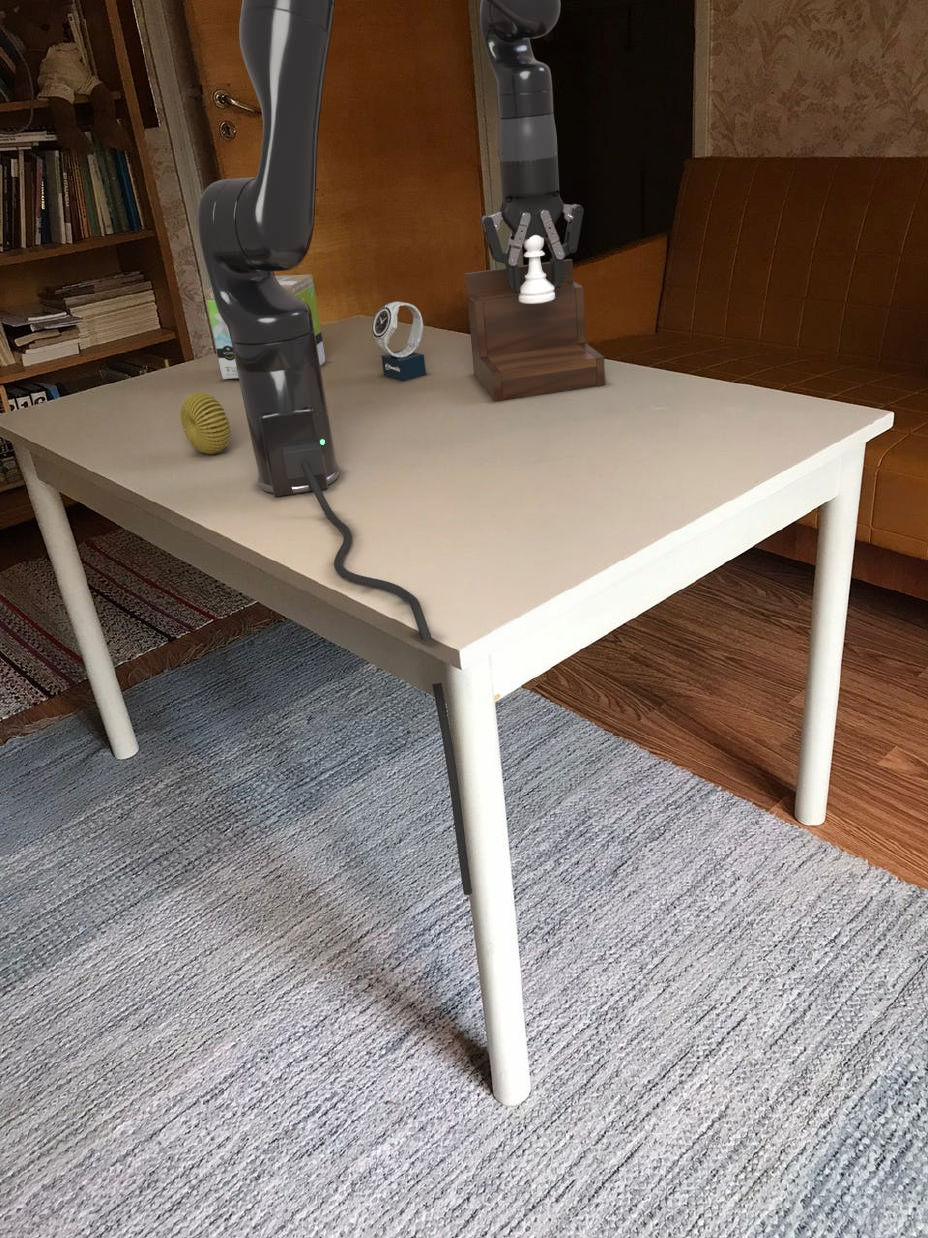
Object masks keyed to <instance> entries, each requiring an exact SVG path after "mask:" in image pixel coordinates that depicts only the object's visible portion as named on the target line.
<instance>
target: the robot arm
mask: <svg viewBox="0 0 928 1238" xmlns="http://www.w3.org/2000/svg"><path fill="white" fill-rule="evenodd" d="M241 1H242V2H241V7H240V18H239V26H238V42H239V47H240V52H241V56H242V59H243V63H244V66H245V69H246V72H247V74H248V77H249V80H250V83H251V86H252V88H253V91H254V93H255V95H256V98H257V99H256V100H257V101H258V105H259V108H260V112H261V118H262V119H261V120H262V137H261V139H262V140H261V152H260V158H259V164H258V168H257V173H256V176H253V177H237V178H224V179H219V180H216V181H214V182H212V183H210V184H209V185H208V186H207V187H206V188H205V189H204V191H203V193H202V194H201V196H200V199H199V202H198V203H199V204H198V207H197V215H196V216H197V223H196V224H197V233H198V239H199V244H200V249H201V253H202V257H203V262H204V265H205V268H206V272H207V276H208V279H209V280H208V281H209V284H210V288H212V291H213V295H214V299H215V303H216V306H217V309H218V311H219V314H220V315H221V317H222V319H223V320H224V322H225V323H226V325H227V327H228V329H229V333H230V338H231V342H232V347H233V352H234V357H235V362H236V367H237V372H238V377H239V378H238V381H239V387H240V392H241V396H242V401H243V405H244V410H245V416H246V420H247V425H248V429H249V435H250V440H251V444H252V449H253V454H254V458H255V459H254V460H255V463H256V469H257V472H258V483H259V486H260V488H261V490H263V491H264V492H267V493H271V494H273V496H274V497H283V496H290V495H295V494H296V495H297V494H303V493H309V492H313V494H314V496H315V498H316V500H317V502H318V504H319V506H320V507H321V510H322V511H323V513H324V515H325V516H326V518H327V520H329V522H330V523H331V524H332V525H333V526H334V527H335V528H336V529H338V530H339V531H340V532H341V534H342V535H343V541H342V544H341V545H340V548H339V549H338V551H337V552H336V554H335V557H334V559H333V565H334V569H335V571H336V573H337V574H338V576H340V578H343V579H344V580H345V581H348V582H350V583H353V584H356V585H360V586H363V587H369V588H374V589H379V590H382V591H386V592H389V593H391V594H393V595H396V596H397V597H399V598H401V599H402V600H403V601H405V602H406V603H407V604H408V605H409V606H410V609H411V611H412V614H413V617H414V620H415V624H416V626H417V628H418V632H419V635H420V639H421V640H422V641H424V642H428V641H431V640H432V635H431V631H430V628H429V626H428V622H427V620H426V618H425V613H424V611H423V608H422V605H421V603H420V601H419V599H418V598H417V597H416V596H415V595H414V594H412V593H411V592H410V591H408V590H406V589H405V588H403V587H402V586H401V585H398V584H395V583H393V582H390V581H387V580H383V579H380V578H373V577H370V576H365V575H361V574H358V573H354V572H351V571H349V570H348V569H347V568H346V567H345V566H344V559H345V557H346V556H347V554H348V552H349V550H350V548H351V546H352V543H353V535H352V532H351V529H350V528H349V527H348V525H346V524H345V523H344V522H343V521H342V520H341V519H339V517H338V516H337V515H336V514H335V513H334V511H333V510H332V508H331V506H330V504H329V503H328V501H327V499H326V497H325V495H324V493H323V490H327V489H329V485H331V484H332V483H333V482H335V481H336V480H337V479H338V478H339V476H340V471H339V466H338V463H337V459H336V452H335V446H334V440H333V435H332V428H331V422H330V416H329V410H328V405H327V398H326V392H325V387H324V386H325V385H324V381H323V375H322V369H321V366H320V362H319V356H318V349H317V343H316V337H315V331H314V325H313V319H312V314H311V310H310V307H309V306H308V304H307V303H306V302H305V301H303V300H301V299H299V298H298V297H296V296H294V295H292V294H291V293H289V292H288V291H287V290H286V289H284V288H283V287H282V286H281V285H280V283H279V282H278V281H277V279H276V277H275V276H276V275H275V272H288V271H292V270H295V269H296V268H298V267H299V265H301V264H302V263H303V262H304V260H305V258H306V257H307V254H308V252H309V250H310V247H311V243H312V240H313V234H314V226H315V215H316V197H317V172H318V171H317V168H318V147H319V134H320V133H319V131H320V120H321V112H322V101H323V92H324V85H325V84H324V83H325V75H326V70H327V69H326V68H327V62H328V56H329V51H330V47H331V46H330V45H331V37H332V31H333V23H334V16H335V6H336V0H241ZM560 14H561V0H480V6H479V23H480V30H481V31H480V32H481V36H482V39H483V43H484V47H485V51H486V53H487V57H488V61H489V64H490V67H491V71H492V73H493V77H494V79H495V84H496V102H497V116H498V131H497V132H498V136H497V139H498V140H497V141H498V149H497V154H498V155H497V156H498V158H499V170H500V183H501V194H502V195H501V198H502V202H501V206H500V207H499V208H500V209H499V211H497V212H495V213H492V214H490V215H486V214H484V215H482V216H481V218H480V223H481V226H482V230H483V233H484V237H485V240H486V243H487V246H488V249H489V252H490V256H491V259H492V260H494V261H495V262H496V263H501V264H503V265H505V268H506V273H507V285H508V287H509V289H511V290H512V291H513V293H514V294H519V293H520V292H521V290H520V275H519V266H520V265H519V264H518V261H519V257H520V253H521V250H522V248H523V247H524V245H523V243H524V240H526V239H530V237H532V236H533V235H538V236H540V237H543V238H544V242H545V243H546V245H547V246H548V249H549V252H550V254H551V258H550V259H549V262H550V263H551V281H552V285H553V286H554V287H555V289H557V288H560V287H561V283H563V282H564V260H565V258H566V257H567V256H568V255H570V254H575V253H576V252H577V250H578V246H579V240H580V235H581V229H582V223H583V217H584V206H582V205H580V204H577V203H573V204H569V203H568V204H567V203H564V202H563V200H562V198H561V196H560V177H559V176H560V175H559V155H558V135H557V127H556V122H555V121H556V120H555V115H554V114H555V112H554V111H555V110H554V94H553V93H554V91H553V78H552V73H551V69H550V67H549V65H547V64H546V63H544V62H541V61H538V60H537V59H536V58H535V56H534V53H533V49H532V44H531V40H533V39H538V38H542V37H544V36H546V35H547V34H548V33H550V32H551V31H552V30H553V29H554V27H556V25H557V23H558V21H559V18H560ZM562 214H564V220H565V221H566V222H567V225H566V229H565V237H564V242H563V244H562V243H561V241H560V236H559V234H558V232H557V229H556V228H555V226H556V224H557V222H558V220H559V219H560V217H561V215H562ZM502 221H503V222H504V223H505V224H506V226H507V227H508V229H510V232H509V237H508V241H507V248H506V252H503V248H502V246H501V243H500V239H499V235H498V231H499V230H500V228H501V222H502ZM431 686H432V690H433V697H434V703H435V708H436V713H437V717H438V723H439V728H440V729H439V730H440V734H441V740H442V748H443V753H444V758H445V766H446V771H447V778H448V786H449V793H450V801H451V808H452V816H453V825H454V832H455V839H456V840H455V842H456V847H457V855H458V863H459V871H460V877H461V878H460V879H461V885H462V891H463V895H465V896H470V895H472V894H473V888H472V882H471V881H472V880H471V874H470V868H469V867H470V866H469V859H468V851H467V843H466V834H465V827H464V819H463V810H462V801H461V794H460V785H459V779H458V773H457V772H458V771H457V765H456V759H455V758H456V757H455V751H454V745H453V740H452V733H451V728H450V721H449V715H448V710H447V705H446V699H445V693H444V689H443V682H437V683H432V684H431Z"/></svg>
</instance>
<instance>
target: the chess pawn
mask: <svg viewBox="0 0 928 1238" xmlns="http://www.w3.org/2000/svg"><path fill="white" fill-rule="evenodd" d="M544 245H545V239H544V237H540V236H538V235H533V236H532V237H530V239H526V240H524V243H523V248H524V249H525V250H526V252H525V253H524V254H523V257H525V258H528V265H529V270H528V273H527V275H525V278H526V281H525V282H524V283H523V285H522V286H521V287H520V290H521V292H520V293H519V301H520V302H521V303H525V304H537V303H545V302H549V301H552V300H553V299H555V292H554V289H555V287H554V286H553V285H552V284H551V283H550V282H549V281H548V280H547V279H546V278H545V277H546V274H545V273H544V272H543V270H542V267H541V263H542V262H541V257H542V256H543V257H544V256H545V255H546V253H545V252H544V251H543V247H544Z"/></svg>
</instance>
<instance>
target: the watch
mask: <svg viewBox="0 0 928 1238" xmlns="http://www.w3.org/2000/svg"><path fill="white" fill-rule="evenodd" d="M402 306H404V307H406V308H407V309H408V310H409V311H410V313H411V314H412V317H413V318H412V324H411V327H410V334H409V337H408V340H407V342H406V344H407V346H406V347H405V348H404V349H401V350H397V351H394V352H393V351H391V349H390V348H389V347H388V346H389V344H390V340H391V337H392V336H393V335H394V334H395V331H396V329H397V328H398V313H399V310H400V307H402ZM424 326H425V325H424V322H423V317H422V314H421V311H420V310H419V309H418V308H417V307H416V306H415V305H414V304H411V303H408V302H402V301H392V302H389V303H387V304H386V305H384V306H382V307H380V308H379V309H378V311H377V312H376V314H375V315H374V317H373V320H372V324H371V332H372V335H373V337H374V341H375V343H376V345H377V347H378V349H379V350H380V351H382V352H383V353H384V354H383V355H381V365H382V371H383V376H384V377H386V378H387V377H388V378H391V379H394V380H397V381H400V382H405V381H408V380H412V379H416V378H419V377H422V376H425V375H427V369H426V362H425V354H423V353H419V352H416V351H415V350H417V349H418V348H419V345H420V343H421V341H422V337H423V332H424Z"/></svg>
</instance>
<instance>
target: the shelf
mask: <svg viewBox="0 0 928 1238" xmlns="http://www.w3.org/2000/svg"><path fill="white" fill-rule="evenodd" d="M573 261H574V260H573V259H571V258H570V259H564V282H563V283H561V287H560V288H557V289H554V292H555V299H553V300H552V301H549V302H545V303H537V304H525V303H521V302H520V301H519V294H514V293H513V291H512V290H511V289H509V287H508V285H507V273H506V267H502V268H496V269H488V270H480V271H473V272H465V273H464V278H465V279H464V280H465V290H466V300H467V310H468V312H467V313H468V322H469V323H468V324H469V331H470V333H469V334H470V343H471V344H470V345H471V353H472V355H471V356H472V363H473V364H472V366H473V374H474V375H473V376H474V377H475V378H476V380H477V381H478V382H479V383H480V384H481V386H482V387H483V388H484V390H485V391H486V392H487V393H488V395H489V396H490V397H491V399H492V400H493V401H494V402H500V401H507V400H514V399H521V398H526V397H533V396H539V395H547V394H553V393H561V392H567V391H574V390H581V389H586V388H587V389H588V388H593V387H600V386H605V385H606V374H605V373H606V371H605V368H606V367H605V356H604V355H602V354H601V353H599V351H597V350H595V349H594V348H593V347H591V345H590V344H588V343H586V342H587V341H586V340H587V339H586V319H585V318H586V316H585V315H586V313H585V293H584V292H585V291H584V290H585V289H584V286H583V285H581V284H580V283H578V282H576V281H574V264H573ZM541 267H542V270H543V272H544V273H545V274H546V277H545V278H546V279H547V280H548V281H549V282H550V283H551V284H552V281H551V263H550V261H547V262H541ZM528 270H529V264H524V265H519V275H520V287H521V286H522V285H523V283H524V282H525V281H526V278H525V275H527V273H528Z"/></svg>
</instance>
